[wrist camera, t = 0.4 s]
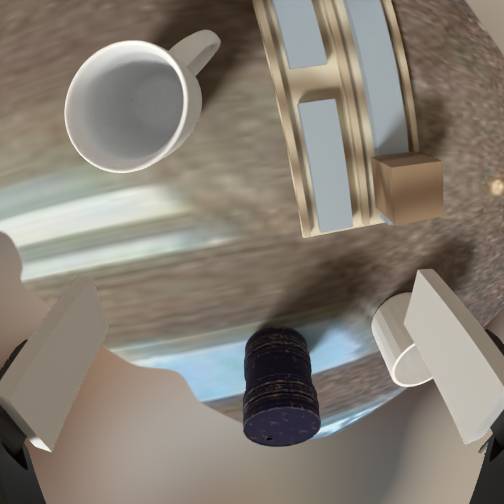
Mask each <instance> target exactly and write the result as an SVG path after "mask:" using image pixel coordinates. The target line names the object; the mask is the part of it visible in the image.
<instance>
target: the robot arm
mask: <svg viewBox="0 0 504 504" xmlns="http://www.w3.org/2000/svg"><path fill="white" fill-rule="evenodd" d="M404 325H405V327H406V329H407V331H408V332H409V334H410V336H411V338H412V339H413V341H414V343H415V345H416V347H417V348H418V350H419V352H420V354H421V356H422V358H423V360H424V361H425V363H426V365H427V367H428V369H429V371H430V373H431V375H432V377H433V379H434V381H435V382H436V385H437V387H438V388H439V390H440V393H441V395H442V396H443V399H444V401H445V403H446V405H447V407H448V409H449V411H450V413H451V415H452V417H453V420H454V422H455V424H456V426H457V428H458V430H459V433H460V435H461V437H462V440H463V442H464V444H468V443H470V442H473V441H475V440H478V439H480V438H482V437H483V436H484V434H485V433H486V432H487V431H488V429H489V428H491V430H492V432H493V434H492V436H491V437H490V438H489V439H488V440H487V441H486V443H485V444H484V445H483V446H482V447H481V448H480V450H479V453H482V451H483V450H484V449H485V448H486V447H487V450H486V453H485V454H484V455H485V457H484V461H483V464H482V468H481V471H480V474H479V477H478V480H477V483H476V486H475V490H474V492H473V495H472V498H471V500H470V503H469V504H504V344H503V343H502V342H501V340H500V339H499V338H498V337H497V336H496V335H495V334H493V333H492V332H491V331H489V330H488V329H486V330H484V329H483V328H482V326H481V325H480V324H479V323H478V321H477V320H476V319H475V318H474V316H473V315H472V314H471V313H470V311H469V310H468V309H467V308H466V307H465V305H464V304H463V303H462V302H461V301H460V299H459V298H458V297H457V296H456V295H455V293H454V292H453V291H452V290H451V289H450V288H449V286H448V285H447V284H446V283H445V282H444V281H443V280H442V278H441V277H440V276H439V275H438V274H437V273H436V272H435V271H434V270H433V269H420V270H418V271H417V275H416V279H415V283H414V287H413V291H412V295H411V299H410V303H409V306H408V310H407V313H406V317H405V320H404ZM108 331H109V327H108V324H107V321H106V318H105V315H104V312H103V309H102V306H101V303H100V300H99V296H98V293H97V290H96V286H95V283H94V279H93V277H77V278H76V279H75V280H74V282H73V283H72V284H71V285H70V286H69V288H68V289H67V290H66V291H65V293H64V294H63V295H62V296H61V297H60V299H59V300H58V301H57V303H56V304H55V305H54V306H53V308H52V309H51V310H50V312H49V313H48V314H47V315H46V317H45V318H44V319H43V321H42V322H41V323H40V325H39V326H38V327H37V329H36V330H35V331H34V333H33V334H32V335H31V337H30V338H29V339H28V340H25V341H23V342H22V343H21V344H20V345H19V346H17V347H16V348H15V350H14V351H13V352H12V354H11V355H10V357H9V359H7V361H6V362H5V364H4V367H2V368H1V370H0V504H46V502H45V500H44V497H43V494H42V491H41V489H40V486H39V483H38V480H37V477H36V474H35V471H34V468H33V465H32V461H31V458H30V455H29V451H28V449H27V447H26V445H25V444H24V441H25V439H26V437H27V438H28V439H29V440H30V441H31V442H32V443H33V444H34V446H36V447H38V448H41V449H44V450H47V451H50V452H52V451H53V449H54V446H55V444H56V441H57V439H58V437H59V434H60V431H61V429H62V427H63V425H64V423H65V420H66V418H67V415H68V413H69V411H70V409H71V407H72V404H73V402H74V400H75V398H76V396H77V394H78V392H79V389H80V387H81V385H82V383H83V381H84V379H85V377H86V375H87V373H88V371H89V369H90V367H91V364H92V363H93V361H94V358H95V357H96V354H97V353H98V350H99V349H100V347H101V345H102V343H103V341H104V339H105V337H106V335H107V333H108Z"/></svg>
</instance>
